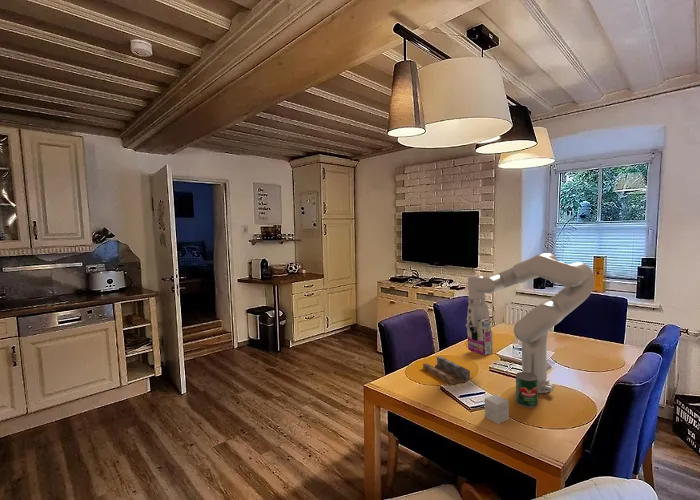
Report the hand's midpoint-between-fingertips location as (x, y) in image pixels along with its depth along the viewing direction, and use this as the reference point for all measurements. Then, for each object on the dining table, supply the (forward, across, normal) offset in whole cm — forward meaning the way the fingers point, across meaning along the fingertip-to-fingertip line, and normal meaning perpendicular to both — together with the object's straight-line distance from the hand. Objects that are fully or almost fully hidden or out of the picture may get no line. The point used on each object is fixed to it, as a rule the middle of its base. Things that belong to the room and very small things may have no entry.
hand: (479, 338), depth 174 cm
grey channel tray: (+16, -16, +7) cm, 24 cm away
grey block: (+18, -24, -34) cm, 45 cm away
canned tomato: (+18, -6, -31) cm, 36 cm away
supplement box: (+17, +22, +21) cm, 35 cm away
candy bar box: (+7, 0, 0) cm, 7 cm away
